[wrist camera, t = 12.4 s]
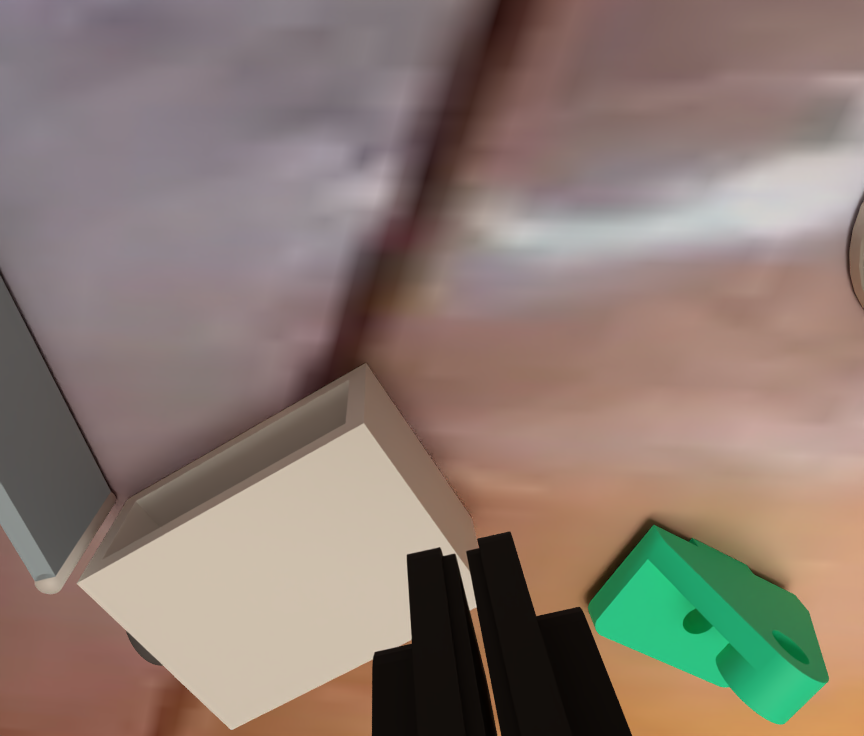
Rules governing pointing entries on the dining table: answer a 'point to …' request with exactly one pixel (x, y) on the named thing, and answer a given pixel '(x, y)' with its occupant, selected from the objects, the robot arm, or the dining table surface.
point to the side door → (43, 462)
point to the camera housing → (281, 551)
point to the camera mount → (713, 623)
